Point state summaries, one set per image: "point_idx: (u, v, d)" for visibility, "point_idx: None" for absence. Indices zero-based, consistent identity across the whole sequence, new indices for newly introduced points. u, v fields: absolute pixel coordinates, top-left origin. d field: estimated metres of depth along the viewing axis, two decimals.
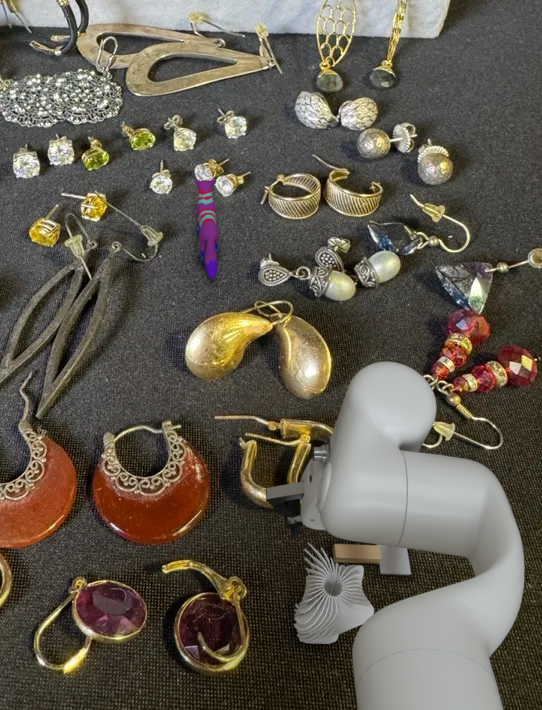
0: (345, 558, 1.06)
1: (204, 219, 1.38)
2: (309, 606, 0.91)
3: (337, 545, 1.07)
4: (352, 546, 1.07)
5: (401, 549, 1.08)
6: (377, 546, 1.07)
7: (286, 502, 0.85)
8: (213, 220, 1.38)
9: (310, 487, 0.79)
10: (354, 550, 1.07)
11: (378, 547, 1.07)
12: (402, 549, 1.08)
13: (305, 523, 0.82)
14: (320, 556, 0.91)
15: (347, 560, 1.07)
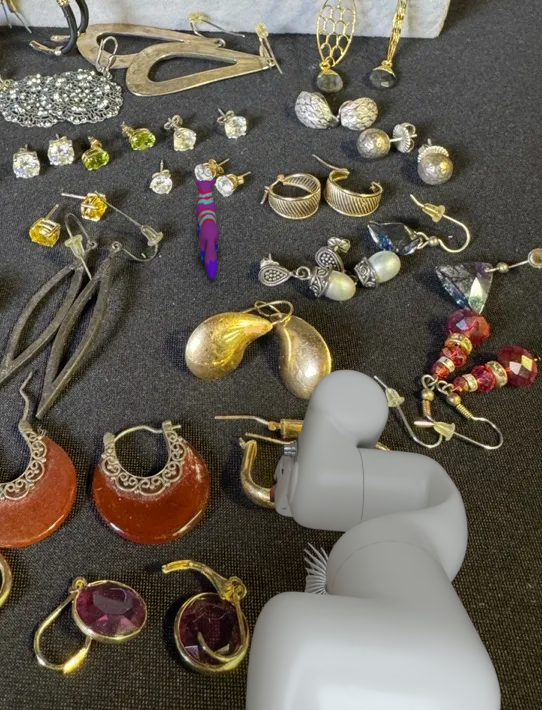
0: None
1: (204, 219, 1.38)
2: None
3: None
4: None
5: None
6: None
7: None
8: (213, 220, 1.38)
9: (282, 479, 0.89)
10: None
11: None
12: None
13: (278, 511, 0.92)
14: (320, 556, 0.91)
15: None
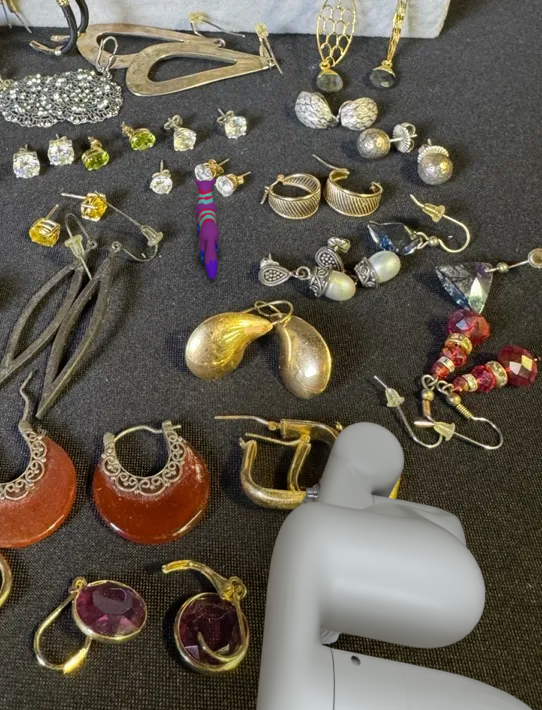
0: None
1: (204, 219, 1.38)
2: None
3: None
4: None
5: None
6: None
7: None
8: (213, 220, 1.38)
9: None
10: None
11: None
12: None
13: None
14: None
15: None
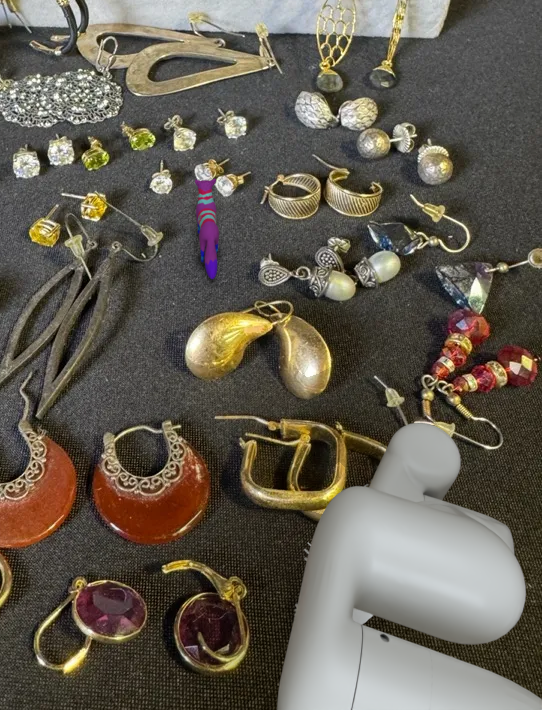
0: None
1: (204, 219, 1.38)
2: None
3: None
4: None
5: None
6: None
7: None
8: (213, 220, 1.38)
9: None
10: None
11: None
12: None
13: None
14: None
15: None
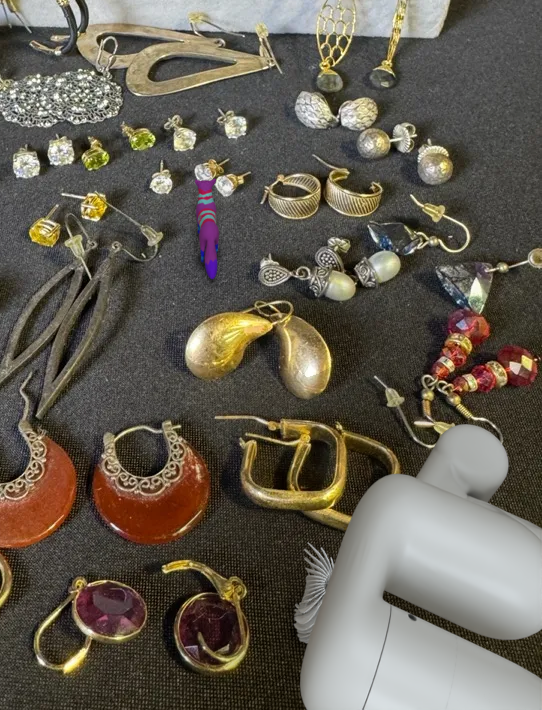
0: None
1: (204, 219, 1.38)
2: (309, 606, 0.91)
3: None
4: None
5: None
6: None
7: None
8: (213, 220, 1.38)
9: None
10: None
11: None
12: None
13: None
14: (320, 556, 0.91)
15: None
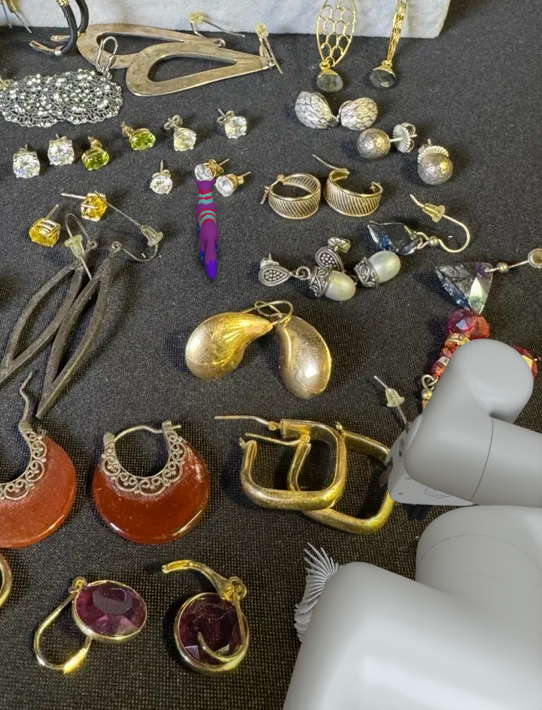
0: None
1: (204, 219, 1.38)
2: (309, 606, 0.91)
3: None
4: None
5: None
6: None
7: None
8: (213, 220, 1.38)
9: (401, 461, 0.84)
10: None
11: None
12: None
13: (393, 496, 0.87)
14: (320, 556, 0.91)
15: None
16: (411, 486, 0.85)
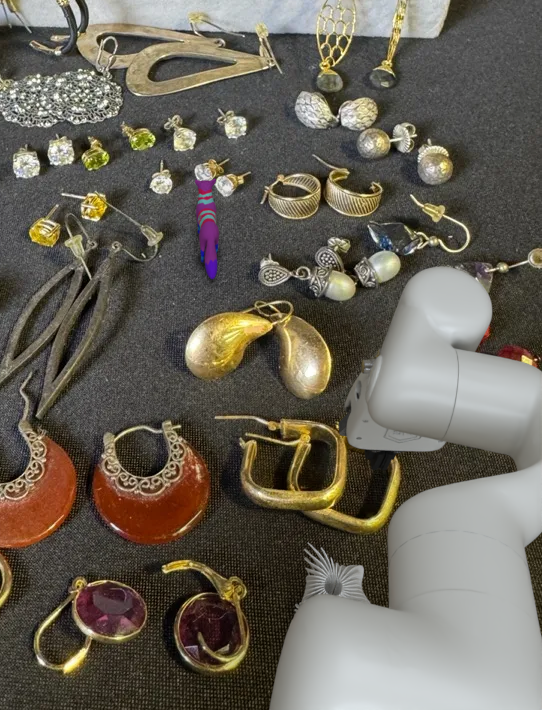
0: None
1: (204, 219, 1.38)
2: None
3: None
4: None
5: None
6: None
7: None
8: (213, 220, 1.38)
9: (358, 403, 0.79)
10: None
11: None
12: None
13: (351, 442, 0.83)
14: (320, 556, 0.91)
15: None
16: (370, 429, 0.80)
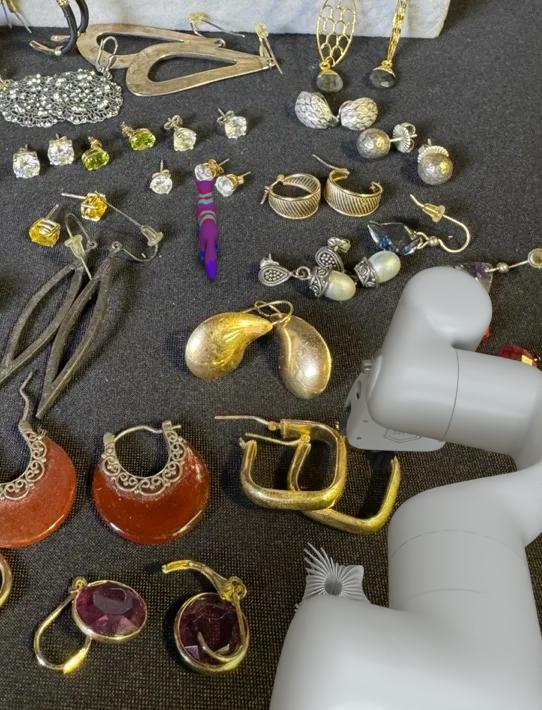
0: None
1: (204, 219, 1.38)
2: None
3: None
4: None
5: None
6: None
7: None
8: (213, 220, 1.38)
9: (358, 403, 0.79)
10: None
11: None
12: None
13: (351, 442, 0.83)
14: (320, 556, 0.91)
15: None
16: (369, 429, 0.80)
